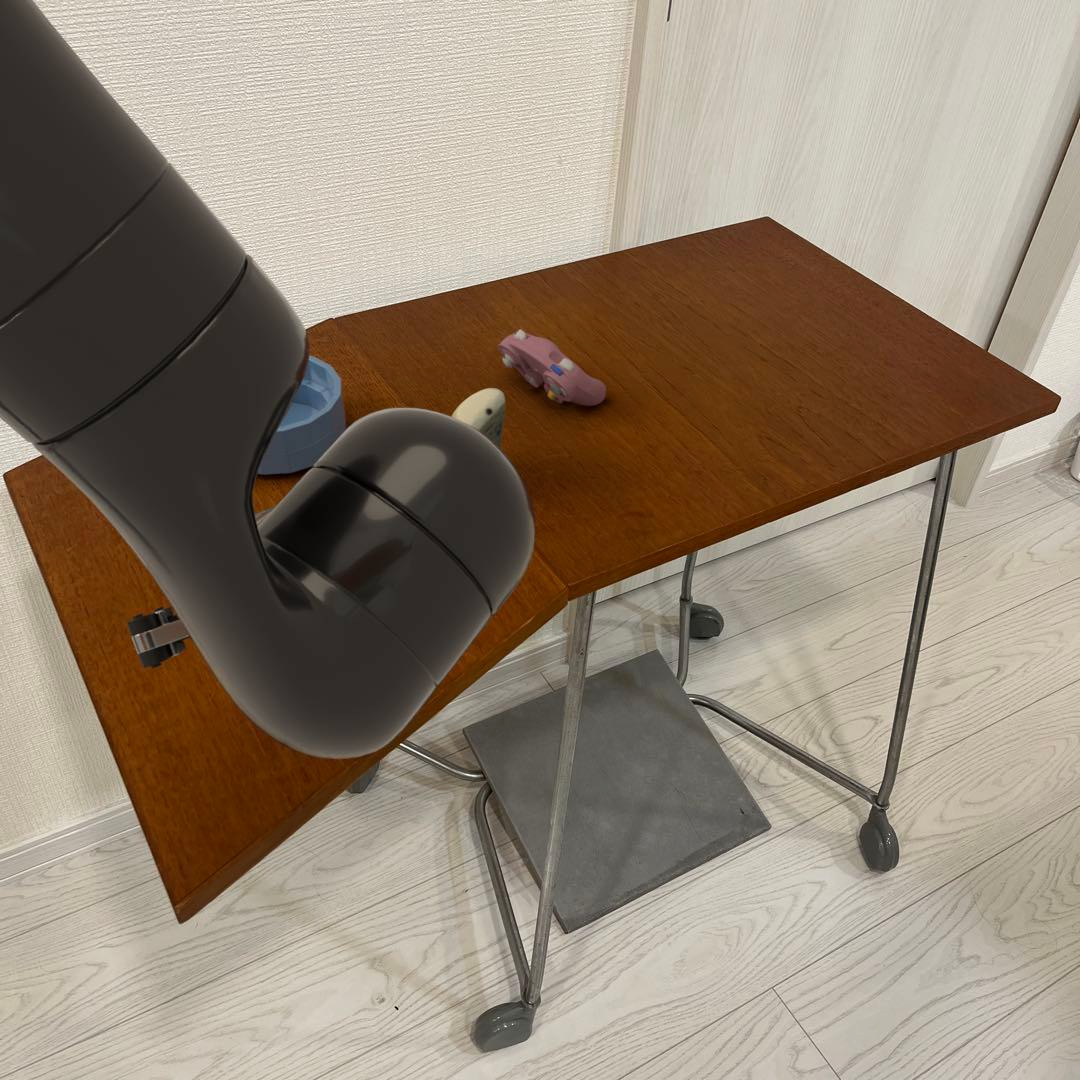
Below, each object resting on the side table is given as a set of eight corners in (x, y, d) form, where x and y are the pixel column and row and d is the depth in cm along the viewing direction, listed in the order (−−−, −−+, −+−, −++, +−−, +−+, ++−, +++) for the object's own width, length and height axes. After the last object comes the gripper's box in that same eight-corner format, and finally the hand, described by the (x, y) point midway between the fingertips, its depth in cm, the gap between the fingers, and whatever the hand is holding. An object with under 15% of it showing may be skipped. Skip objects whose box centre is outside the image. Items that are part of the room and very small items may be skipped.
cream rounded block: (508, 503, 82) (509, 424, 77) (444, 505, 82) (440, 427, 76) (503, 458, 86) (504, 380, 81) (442, 460, 86) (438, 382, 80)
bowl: (238, 495, 82) (227, 447, 78) (198, 421, 89) (185, 373, 85) (367, 454, 86) (362, 406, 83) (318, 386, 93) (312, 339, 89)
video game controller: (508, 383, 97) (482, 339, 91) (540, 350, 97) (516, 304, 91) (580, 432, 91) (558, 389, 86) (613, 396, 92) (594, 351, 86)
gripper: (407, 466, 48) (337, 505, 63) (94, 568, 42) (102, 583, 58) (460, 615, 48) (377, 617, 64) (157, 735, 43) (148, 705, 58)
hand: (246, 601), depth 61 cm, fingers closed on pill bottle, 4 cm apart
